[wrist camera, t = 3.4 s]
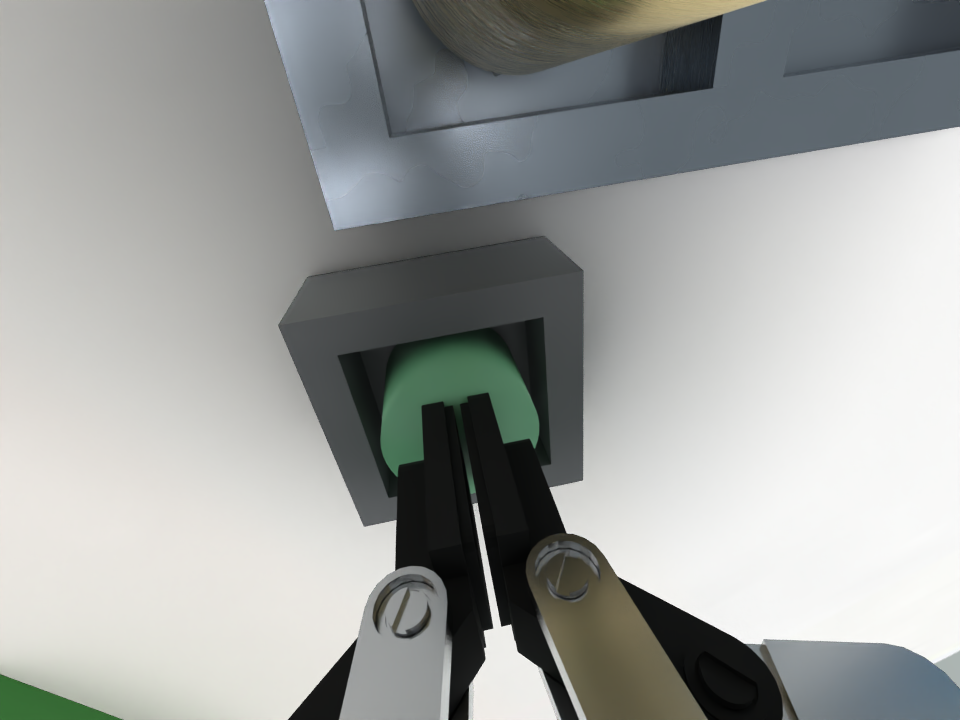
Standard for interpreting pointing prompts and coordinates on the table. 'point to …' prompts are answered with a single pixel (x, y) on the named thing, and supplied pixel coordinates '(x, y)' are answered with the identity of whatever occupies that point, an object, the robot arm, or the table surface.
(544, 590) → the robot arm
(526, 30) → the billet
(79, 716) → the hardback book
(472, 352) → the button
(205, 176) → the table surface
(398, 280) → the grey button housing
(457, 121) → the metal compartment tray
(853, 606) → the table surface
